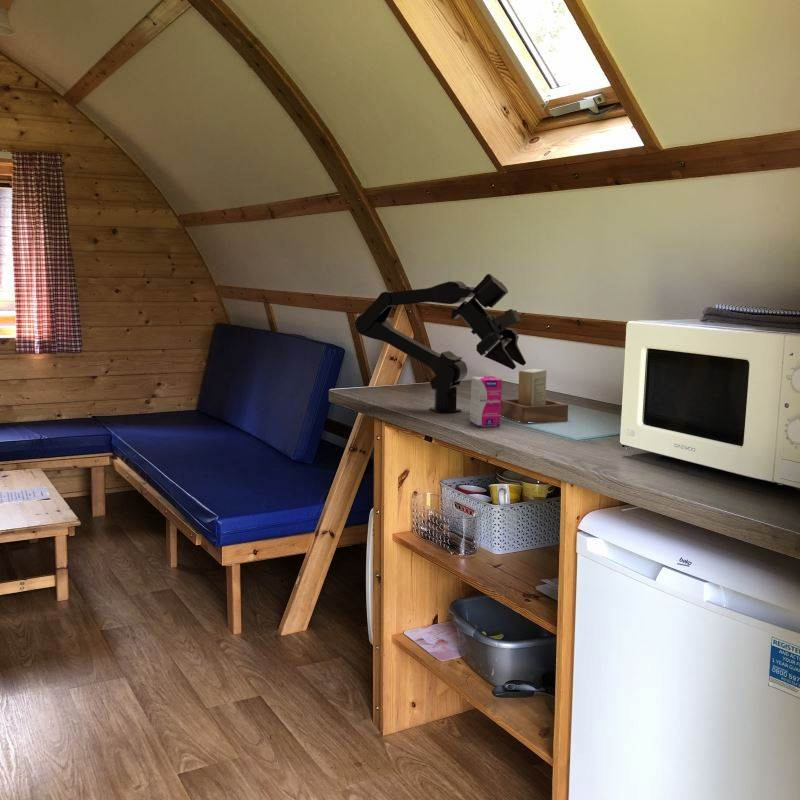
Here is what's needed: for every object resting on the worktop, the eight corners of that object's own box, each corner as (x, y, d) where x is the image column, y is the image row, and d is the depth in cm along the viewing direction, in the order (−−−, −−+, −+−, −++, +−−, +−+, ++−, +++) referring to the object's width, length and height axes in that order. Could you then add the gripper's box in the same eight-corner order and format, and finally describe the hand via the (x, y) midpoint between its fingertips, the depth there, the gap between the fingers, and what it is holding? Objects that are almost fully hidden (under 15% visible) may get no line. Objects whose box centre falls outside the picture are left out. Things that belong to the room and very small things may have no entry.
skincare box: (531, 415, 226) (533, 368, 224) (545, 417, 223) (547, 369, 221) (516, 418, 222) (518, 370, 220) (530, 421, 219) (532, 371, 217)
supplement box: (477, 427, 209) (479, 379, 207) (469, 423, 214) (470, 376, 213) (500, 426, 210) (502, 379, 208) (491, 422, 216) (493, 375, 214)
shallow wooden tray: (498, 415, 226) (499, 400, 225) (540, 412, 231) (540, 397, 230) (524, 423, 214) (525, 407, 214) (567, 420, 219) (568, 404, 219)
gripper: (490, 299, 213) (533, 348, 210) (511, 297, 230) (552, 341, 227) (458, 331, 217) (500, 378, 215) (482, 326, 234) (521, 370, 232)
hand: (519, 366), depth 222 cm, fingers open, 9 cm apart
